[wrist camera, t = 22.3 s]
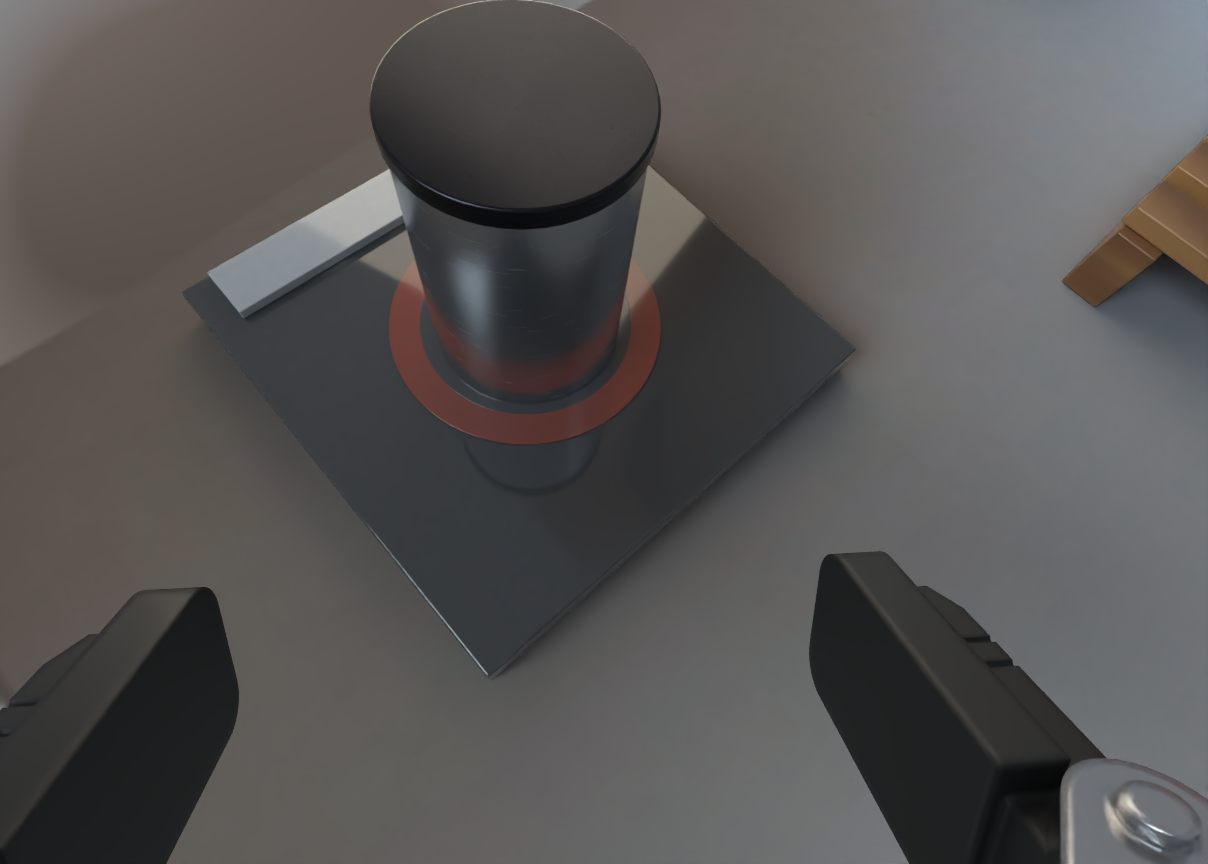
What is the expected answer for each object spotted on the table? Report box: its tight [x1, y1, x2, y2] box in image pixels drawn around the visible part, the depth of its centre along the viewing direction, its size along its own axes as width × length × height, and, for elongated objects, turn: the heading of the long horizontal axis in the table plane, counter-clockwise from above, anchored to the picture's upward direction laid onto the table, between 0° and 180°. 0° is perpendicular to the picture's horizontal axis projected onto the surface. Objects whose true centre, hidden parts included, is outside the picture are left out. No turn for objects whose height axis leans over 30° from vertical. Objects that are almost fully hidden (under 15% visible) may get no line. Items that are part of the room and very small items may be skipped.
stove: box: [182, 165, 856, 680], centre depth 24 cm, size 16×16×2 cm
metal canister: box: [369, 0, 661, 403], centre depth 19 cm, size 6×6×9 cm
